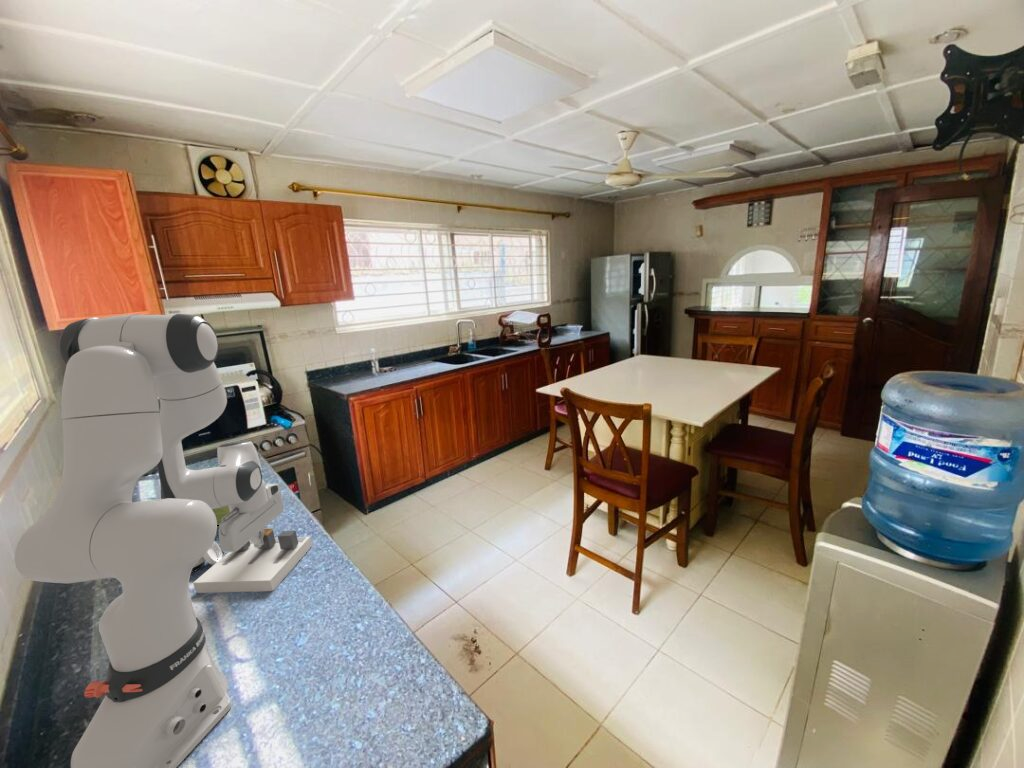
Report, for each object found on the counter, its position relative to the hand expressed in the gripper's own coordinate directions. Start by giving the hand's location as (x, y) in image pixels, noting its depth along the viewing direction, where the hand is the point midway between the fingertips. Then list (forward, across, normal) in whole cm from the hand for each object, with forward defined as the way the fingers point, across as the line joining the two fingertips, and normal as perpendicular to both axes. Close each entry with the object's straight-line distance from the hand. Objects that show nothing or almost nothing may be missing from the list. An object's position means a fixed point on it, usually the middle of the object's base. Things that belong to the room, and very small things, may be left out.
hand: (259, 546), depth 110 cm
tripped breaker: (+2, +2, 0) cm, 3 cm away
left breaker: (+2, +2, +7) cm, 7 cm away
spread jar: (+5, 0, +19) cm, 20 cm away
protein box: (+5, +25, +29) cm, 38 cm away
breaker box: (+5, -2, 0) cm, 5 cm away
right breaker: (+2, +2, -7) cm, 8 cm away
